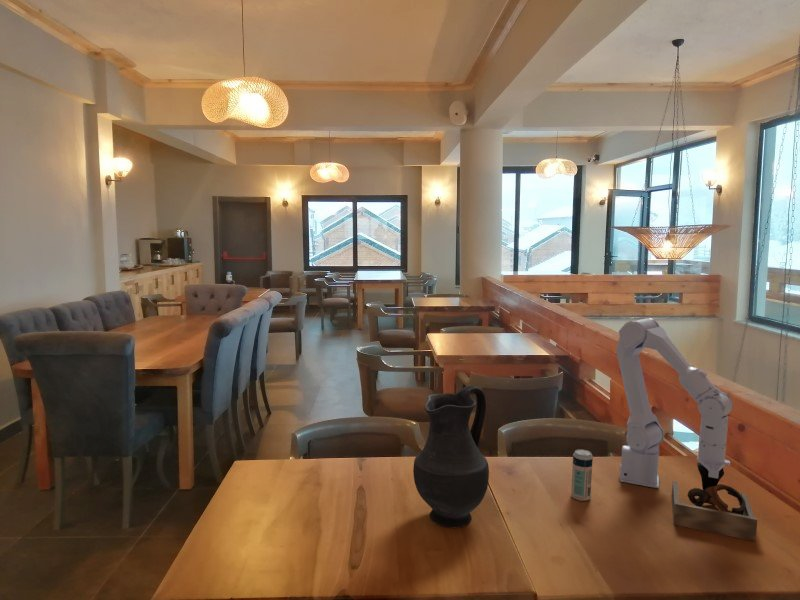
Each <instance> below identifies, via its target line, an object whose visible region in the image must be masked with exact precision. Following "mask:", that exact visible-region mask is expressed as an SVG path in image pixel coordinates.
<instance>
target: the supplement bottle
mask: <svg viewBox="0 0 800 600" xmlns="http://www.w3.org/2000/svg"><path fill="white" fill-rule="evenodd" d="M593 458H594V456H593V454H592V452H591V451H589V450H586V449H582V448H581V449H580V448H578V449H575V451H574V453H572V474H571V489H570V490H571V491H570V496H571V497H572V498H573V499H575V500H577V501H580V502H586V501H588V500H589V501H590V499H591V498H592V497H591V496H592V475H593Z"/></svg>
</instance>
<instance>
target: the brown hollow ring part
mask: <svg viewBox="0 0 800 600" xmlns="http://www.w3.org/2000/svg"><path fill="white" fill-rule="evenodd" d="M723 490H725V491H726V492H727V495H730V496H732V497H733V498H736V499H737V501H738V505H739V507H732V508H731V510H729V505H728V504H727V503H726V502H725V501H723V500H722V499H721V497H720V495H719V493H718V491H719V492H720V491H723ZM687 497H688V500H689V502H690V503H691V504H693V506H698V507H704V504H708V505H711V506H714V507H715V506H716V507H717V509H719V511H724V512H729V513H734V514H740V515H743V513H744V509H745V507H746V503H745V500H744V498H743V497H742V496H741V493H740V492H739V491H738V490H737V489H735V488H733V487H731V486H730V485H726V484H722V483H720V484H719V483H718V484H717V485H716V486H712V487H708V488H706V489H705V490H703V489H701V488H698V487H697V488H696V487H694V488H691V489H689V490H688V492H687ZM696 497H698V498H696ZM740 506H741V507H740Z"/></svg>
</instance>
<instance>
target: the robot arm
mask: <svg viewBox="0 0 800 600" xmlns="http://www.w3.org/2000/svg"><path fill="white" fill-rule="evenodd" d="M618 334H619V338H618V340H617V341H618V342H617V346H616V350H615V351H616V357H617V361H618V365H619V370H620V374H621V379H622V384H623V388H624V393H625V396H626V401H627V402H626V403H627V406H628V411H629V417H628V420H627V422H626V428H627V431H626V436H625V437H626V439H625V440H626V442H627V445H622V447H621V459H620V460H621V461H620V465H619V472H620V477H619V481H620V482H623V483H627V484H632V485H638V486H643V487H648V488H655V489H659V487H660V483H659V482H660V480H659V478H660V477H659V475H658V473H659V472H658V470H659V460H660V459H659V458H660V444H661V443H662V442H663V441H664V438H665V431H664V429H663V427H662V426H661V424H660V423H659V420H658V417H657V416H656V415H655V414H654V412H653V411H652V408H651V403H650V400H649V395H648V391H647V387H646V382H645V377H644V373H643V368H642V363H641V360H640V356H639V355H640V354H641V352H642V351H643V350H644V349H650V350H655V351H657V352H658V353H659V355H660V356H661V357H662V358H663V359H664V360H665V361H666V362H667V363H668V364H669V365H670V366H671V367H672V368H673V369H674V370H675V371H676V373H678V382H679V383H680V384H681V386H682V387H683V388H684V389H685V390H686V392H688V394H689V395H690V396H691V398H692V399H693V400H694V401H695V402H696V403H697V410H698V412H699V414H700V415H701V418H700V419H701V420H700V428H699V429H700V431H699V442H698V451H697V453H698V454H697V456H696V460H697V463H696V466H697V470H698V473H699V474H700V477H701V487H702V490H705V489H706V488H708V487H712V486H716V485H719V482H720V480H721V479H722V478H723V476H725V471H724V467H725V466H731V461H730V460H728V459H726V449H727V439H728V438H727V437H728V427H729V426H728V423H729V416H728V415H729V413H731V412H732V410H733V408H734V404H733V401H732V399H731V397H730V395H729V394H727V393H726V392H724V391H722V390H721V389H720V388H719V387H716V386H715V384H714V383H713V382H712V381H711V380H710V379H709V377H707V375H708V373H707V372H706V371H705V370H701V369H700V368H698V367H695V366H691V364H690V363H689V362H688V360H686V358H685V357H684V355H683V354H682V353H681V352H680V350H679V348H677V346H676V345H675V344H674V343H673V341H672V340H671V338H669V336H668V335H667V332H666V330H665V329H664V327H662V326H660V323H659V322H657V321H656V319H653V318H651V317H644V318H642V319H637V320H630V321H627V322H626V323H624V324H623V326H621V328H620V329H619V331H618Z"/></svg>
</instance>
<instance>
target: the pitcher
mask: <svg viewBox="0 0 800 600" xmlns="http://www.w3.org/2000/svg"><path fill="white" fill-rule="evenodd" d="M472 393H473V394H474V395H475V399H476V400H475V399H474V398H473V397H472V395H471V394H472ZM475 408H476V409H475ZM474 409H475V414H474V418H473V422H472V425H471V427H470V425H469V424H470V418H471V415H472V413H473V410H474ZM424 411H425V412H426V413H427V416H428V417H429V419H430V424H429V428H428V436H427V439H426V442H425V444H424V447H423V448H422V450H421V451H420V452H419V453H418V454H417V455H416V456H415V458H414V460H413V481H414V485H415V488H416V490H417V493H418V494H419V497H421V499H422V500H423V501H424V502H425V503H426V505H428V506H429V507H430V508H431V509H432V510H431V511H430V512H429V518H430V521H431V522H433V523H434V524H436V525H438V526H440V527H444V528H460V527H464V526H467V525H468V524H470V523H471V522H472V514H471V513H472V511H474V510H476V508H478V506H479V505H480V504H481V503H482V501H483V499H484V498H485V496H486V494H487V490H488V486H489V480H490V469H489V463H488V459H487V458H486V456H484V455H483V454H482V453H481V452H480V449H479V447H480V439H481V436H482V432H483V427H484V422H485V417H486V412H487V399H486V395H485V392H484V390H483V389H482V388H480V387H479V386H476V385H475V386H474V385H472V384H471V385H470V384H469V385H466V386H465V387H463V388H461V389H460V390H459V391H458V392H456V393H447V392H445V393H442V392H441V393H433V394H430V395H428V396H427V402H426V403H425V405H424Z"/></svg>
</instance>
